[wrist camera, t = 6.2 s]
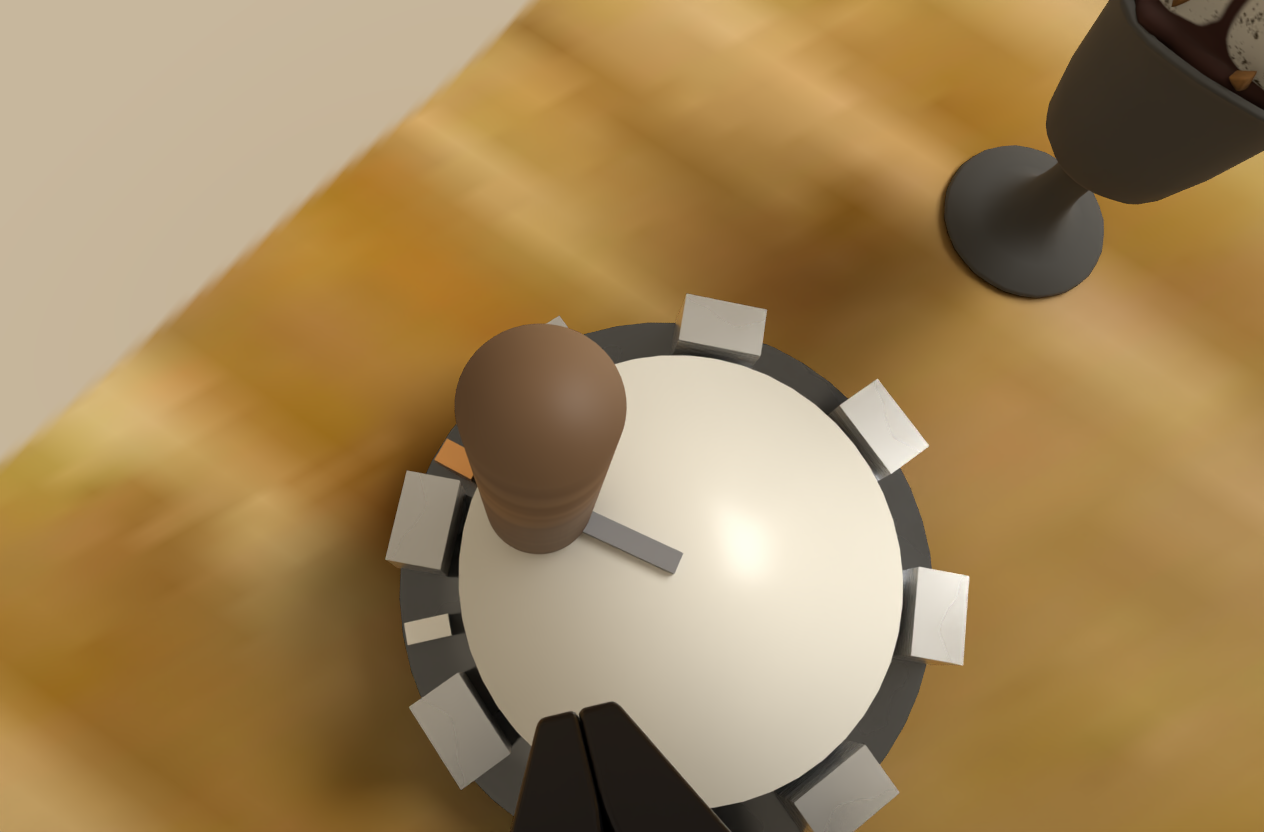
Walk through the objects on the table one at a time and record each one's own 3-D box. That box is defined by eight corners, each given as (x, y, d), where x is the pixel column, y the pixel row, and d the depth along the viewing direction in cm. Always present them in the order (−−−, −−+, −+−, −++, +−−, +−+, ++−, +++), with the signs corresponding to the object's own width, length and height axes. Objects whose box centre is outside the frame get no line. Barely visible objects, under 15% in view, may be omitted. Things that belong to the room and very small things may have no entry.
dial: (791, 875, 20) (997, 1046, 11) (386, 684, 21) (267, 703, 12) (933, 475, 23) (1190, 356, 14) (574, 311, 23) (599, 87, 14)
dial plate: (973, 780, 23) (1042, 799, 20) (457, 919, 21) (443, 965, 18) (834, 305, 26) (875, 256, 23) (371, 389, 24) (346, 347, 21)
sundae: (1076, 370, 26) (1727, 20, 12) (877, 246, 27) (1274, -238, 12) (1164, 200, 28) (1821, -283, 14) (975, 86, 29) (1423, -499, 14)
